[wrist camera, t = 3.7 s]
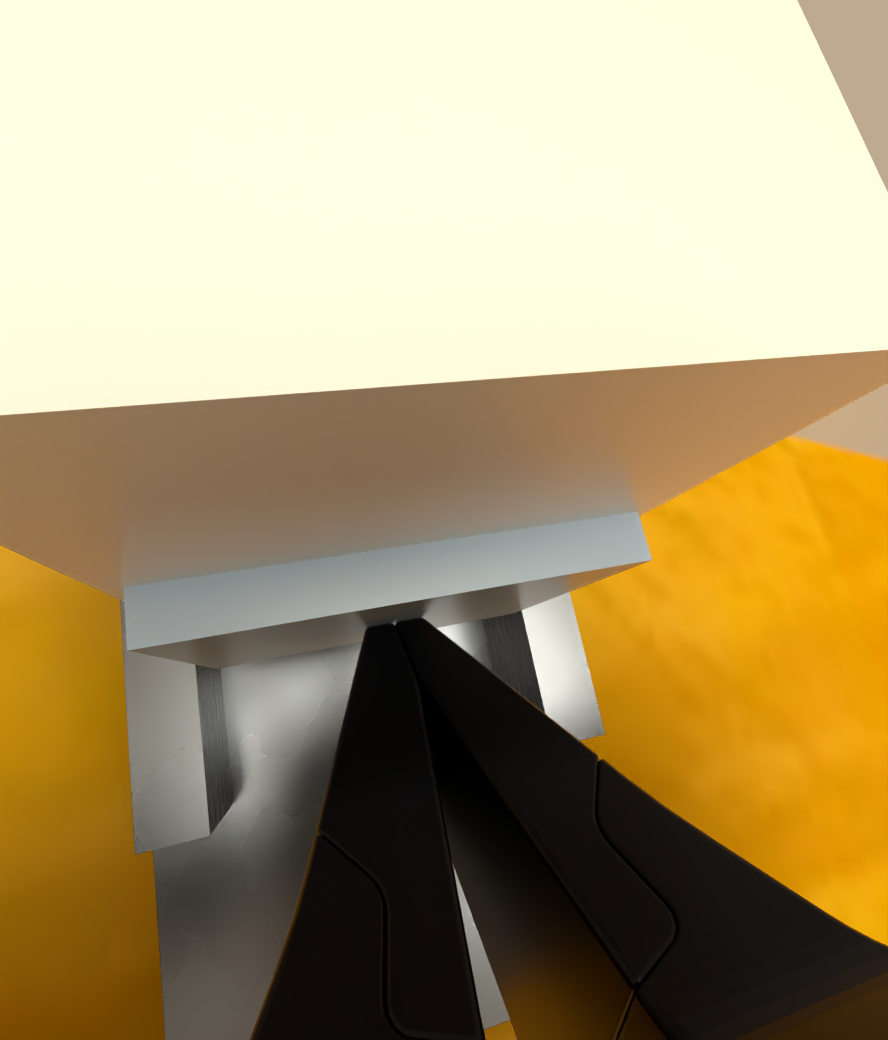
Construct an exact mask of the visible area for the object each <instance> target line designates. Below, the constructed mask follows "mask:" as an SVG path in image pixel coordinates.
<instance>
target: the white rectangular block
mask: <svg viewBox="0 0 888 1040" xmlns="http://www.w3.org/2000/svg"><path fill="white" fill-rule="evenodd" d="M886 383H888V193H887V190H886V188H885V186H884V184H883V182H882V180H881V178H880V175H879V173H878V171H877V169H876V167H875V165H874V163H873V160H872V158H871V156H870V154H869V152H868V150H867V148H866V146H865V144H864V141H863V140H862V137H861V135H860V133H859V131H858V129H857V126H856V124H855V122H854V120H853V118H852V116H851V114H850V112H849V110H848V107H847V105H846V103H845V101H844V99H843V97H842V95H841V93H840V90H839V88H838V86H837V84H836V82H835V80H834V78H833V76H832V73H831V71H830V69H829V67H828V65H827V63H826V61H825V59H824V56H823V54H822V52H821V50H820V48H819V46H818V44H817V41H816V39H815V37H814V35H813V33H812V31H811V29H810V27H809V25H808V22H807V20H806V18H805V16H804V14H803V12H802V10H801V7H800V5H799V3H798V1H797V0H0V545H1V546H3V547H5V548H7V549H10V550H12V551H14V552H16V553H18V554H20V555H23V556H25V557H27V558H29V559H31V560H34V561H36V562H38V563H40V564H42V565H45V566H47V567H49V568H51V569H53V570H56V571H58V572H60V573H62V574H64V575H67V576H69V577H71V578H73V579H75V580H78V581H80V582H82V583H84V584H86V585H89V586H91V587H93V588H95V589H97V590H100V591H102V592H104V593H106V594H108V595H111V596H113V597H115V598H117V599H119V600H122V601H124V607H125V624H126V640H127V651H131V652H136V653H141V654H145V655H150V656H155V657H160V658H165V659H170V660H175V661H180V662H185V663H190V664H195V665H200V666H204V667H209V668H214V669H219V668H225V667H230V666H235V665H241V664H246V663H251V662H257V661H262V660H268V659H273V658H278V657H284V656H289V655H294V654H300V653H305V652H310V651H316V650H321V649H326V648H332V647H337V646H342V645H348V644H353V643H358V642H362V641H363V637H364V633H365V630H366V628H368V627H371V626H377V625H382V624H388V623H392V624H394V625H396V623H397V622H399V621H404V620H410V619H415V618H424V619H425V620H427V621H428V622H429V623H431V624H432V625H433V626H434V627H436V628H438V627H444V626H449V625H454V624H460V623H465V622H470V621H476V620H481V619H486V618H492V617H497V616H502V615H508V614H513V613H516V612H519V611H521V610H524V609H526V608H529V607H532V606H534V605H537V604H539V603H542V602H544V601H547V600H550V599H552V598H555V597H557V596H560V595H563V594H565V593H568V592H570V591H573V590H575V589H578V588H581V587H583V586H586V585H588V584H591V583H594V582H596V581H599V580H601V579H604V578H606V577H609V576H612V575H614V574H617V573H619V572H622V571H625V570H627V569H630V568H632V567H635V566H638V565H640V564H643V563H645V562H648V561H650V560H652V559H651V555H650V552H649V548H648V545H647V541H646V538H645V535H644V531H643V528H642V524H641V521H640V517H639V516H641V515H643V514H645V513H646V512H648V511H650V510H652V509H654V508H656V507H658V506H659V505H661V504H663V503H665V502H667V501H669V500H671V499H672V498H674V497H676V496H678V495H680V494H682V493H684V492H685V491H687V490H689V489H691V488H693V487H695V486H697V485H698V484H700V483H702V482H704V481H706V480H708V479H710V478H711V477H713V476H715V475H717V474H719V473H721V472H723V471H725V470H726V469H728V468H730V467H732V466H734V465H736V464H738V463H739V462H741V461H743V460H745V459H747V458H749V457H751V456H752V455H754V454H756V453H758V452H760V451H762V450H764V449H765V448H767V447H769V446H771V445H773V444H775V443H777V442H778V441H780V440H782V439H784V438H786V437H788V436H790V435H792V434H793V433H795V432H797V431H799V430H801V429H802V428H805V427H806V426H808V425H810V424H812V423H814V422H816V421H817V420H819V419H821V418H823V417H825V416H827V415H829V414H831V413H832V412H834V411H836V410H838V409H839V408H842V407H844V406H845V405H847V404H849V403H851V402H853V401H855V400H857V399H858V398H860V397H862V396H864V395H866V394H868V393H870V392H871V391H873V390H875V389H877V388H879V387H881V386H883V385H884V384H886Z"/></svg>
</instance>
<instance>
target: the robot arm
mask: <svg viewBox="0 0 888 1040" xmlns="http://www.w3.org/2000/svg"><path fill="white" fill-rule="evenodd" d="M316 835H317V836H315V837H314V839H313V843H312V848H311V852H310V856H309V860H308V864H307V868H306V872H305V875H304V879H303V882H302V886H301V889H300V893H299V897H298V900H297V904H296V907H295V911H294V914H293V918H292V922H291V924H290V927H289V930H288V933H287V936H286V939H285V942H284V945H283V948H282V951H281V954H280V957H279V960H278V963H277V966H276V969H275V971H274V974H273V977H272V980H271V983H270V986H269V989H268V991H267V994H266V997H265V999H264V1002H263V1005H262V1007H261V1010H260V1013H259V1015H258V1018H257V1021H256V1023H255V1026H254V1029H253V1031H252V1034H251V1037H250V1039H249V1040H485V1035H484V1030H483V1024H482V1019H481V1013H480V1008H479V1003H478V997H477V992H476V987H475V981H474V976H473V970H472V965H471V960H470V954H469V949H468V944H467V938H466V933H465V928H464V922H463V917H462V911H461V906H460V901H459V895H458V890H457V885H456V879H455V874H454V869H453V865H454V868H455V871H456V873H457V876H458V879H459V882H460V884H461V887H462V890H463V893H464V895H465V898H466V901H467V903H468V906H469V909H470V912H471V914H472V917H473V920H474V923H475V925H476V928H477V931H478V933H479V936H480V939H481V942H482V944H483V947H484V950H485V952H486V955H487V958H488V961H489V963H490V966H491V969H492V972H493V974H494V977H495V980H496V982H497V985H498V988H499V991H500V993H501V996H502V999H503V1001H504V1004H505V1007H506V1010H507V1012H508V1015H509V1018H510V1021H511V1023H512V1026H513V1029H514V1031H515V1034H516V1037H517V1040H888V946H887V945H885V944H883V943H880V942H878V941H876V940H874V939H872V938H870V937H868V936H866V935H864V934H862V933H860V932H859V931H857V930H855V929H853V928H851V927H849V926H847V925H846V924H844V923H843V922H841V921H839V920H838V919H836V918H834V917H833V916H831V915H829V914H828V913H826V912H825V911H823V910H822V909H820V908H818V907H817V906H815V905H814V904H812V903H811V902H809V901H808V900H806V899H805V898H803V897H802V896H800V895H799V894H797V893H795V892H794V891H792V890H791V889H789V888H788V887H786V886H785V885H783V884H782V883H780V882H779V881H777V880H775V879H774V878H772V877H771V876H769V875H768V874H766V873H765V872H763V871H762V870H760V869H759V868H757V867H755V866H754V865H752V864H751V863H749V862H748V861H746V860H745V859H743V858H742V857H740V856H739V855H737V854H736V853H734V852H732V851H731V850H729V849H728V848H726V847H725V846H723V845H722V844H720V843H719V842H717V841H716V840H714V839H712V838H711V837H709V836H708V835H707V834H705V833H704V832H702V831H701V830H699V829H698V828H696V827H695V826H693V825H692V824H690V823H689V822H687V821H686V820H685V819H683V818H682V817H680V816H679V815H677V814H676V813H674V812H673V811H671V810H670V809H668V808H667V807H665V806H664V805H663V804H661V803H660V802H659V801H657V800H656V799H655V798H653V797H652V796H651V795H649V794H648V793H647V792H645V791H644V790H643V789H641V788H640V787H639V786H637V785H636V784H635V783H633V782H632V781H631V780H629V779H628V778H627V777H625V776H624V775H623V774H622V773H620V772H619V771H618V770H617V769H615V768H614V767H613V766H611V765H610V764H609V763H608V762H606V761H605V760H604V759H601V760H599V762H598V755H597V754H596V753H595V752H593V751H592V750H591V749H589V748H588V747H587V746H586V745H584V744H583V743H582V742H581V741H579V740H578V739H577V738H575V737H574V736H573V735H572V734H570V733H569V732H568V731H567V730H565V729H564V728H563V727H561V726H560V725H559V724H558V723H556V722H555V721H554V720H553V719H551V718H550V717H549V716H548V715H546V714H545V713H544V712H542V711H541V710H540V709H539V708H537V707H536V706H535V705H534V704H532V703H531V702H530V701H528V700H527V699H526V698H525V697H523V696H522V695H521V694H520V693H518V692H517V691H516V690H514V689H513V688H512V687H511V686H509V685H508V684H507V683H506V682H504V681H503V680H502V679H501V678H499V677H498V676H497V675H495V674H494V673H493V672H492V671H490V670H489V669H488V668H487V667H485V666H484V665H483V664H481V663H480V662H479V661H478V660H476V659H475V658H474V657H473V656H471V655H470V654H469V653H467V652H466V651H465V650H464V649H462V648H461V647H460V646H459V645H457V644H456V643H455V642H454V641H452V640H451V639H450V638H448V637H447V636H446V635H445V634H443V633H442V632H441V631H440V630H438V629H437V628H436V627H434V626H433V625H432V624H431V623H429V622H428V621H427V620H425V619H424V618H415V619H410V620H404V621H399V622H397V623H396V625H394V624H392V623H388V624H382V625H377V626H371V627H368V628H366V630H365V633H364V637H363V641H362V645H361V649H360V653H359V657H358V661H357V665H356V669H355V674H354V678H353V682H352V686H351V690H350V694H349V698H348V702H347V706H346V710H345V714H344V718H343V723H342V727H341V731H340V735H339V739H338V743H337V747H336V751H335V755H334V759H333V763H332V768H331V772H330V776H329V780H328V784H327V788H326V792H325V796H324V800H323V804H322V808H321V812H320V817H319V821H318V825H317V829H316Z"/></svg>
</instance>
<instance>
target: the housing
mask: <svg viewBox="0 0 888 1040" xmlns="http://www.w3.org/2000/svg"><path fill="white" fill-rule="evenodd" d="M120 606H121V623H122V640H123V658H124V675H125V692H126V709H127V726H128V743H129V760H130V777H131V794H132V811H133V828H134V846H135V855H136V854H140V853H143V852H147V851H151V850H153V857H154V872H155V887H156V903H157V918H158V933H159V948H160V964H161V979H162V994H163V1009H164V1025H165V1040H249V1039H250V1037H251V1034H252V1031H253V1029H254V1026H255V1023H256V1021H257V1018H258V1015H259V1013H260V1010H261V1007H262V1005H263V1002H264V999H265V997H266V994H267V991H268V989H269V986H270V983H271V980H272V977H273V974H274V971H275V969H276V966H277V963H278V960H279V957H280V954H281V951H282V948H283V945H284V942H285V939H286V936H287V933H288V930H289V927H290V924H291V922H292V918H293V914H294V911H295V907H296V904H297V900H298V897H299V893H300V889H301V886H302V882H303V879H304V875H305V872H306V868H307V864H308V860H309V856H310V852H311V848H312V843H313V839H314V837H315V836H317V835H316V829H317V825H318V821H319V817H320V812H321V808H322V804H323V800H324V796H325V792H326V788H327V784H328V780H329V776H330V772H331V768H332V763H333V759H334V755H335V751H336V747H337V743H338V739H339V735H340V731H341V727H342V723H343V718H344V714H345V710H346V706H347V702H348V698H349V694H350V690H351V686H352V682H353V678H354V674H355V669H356V665H357V661H358V657H359V653H360V649H361V645H362V642H358V643H353V644H348V645H342V646H337V647H332V648H326V649H321V650H316V651H310V652H305V653H300V654H294V655H289V656H284V657H278V658H273V659H268V660H262V661H257V662H251V663H246V664H241V665H235V666H230V667H225V668H219V669H214V668H209V667H204V666H200V665H195V664H190V663H185V662H180V661H175V660H170V659H165V658H160V657H155V656H150V655H145V654H141V653H136V652H131V651H127V640H126V624H125V607H124V601H122V600H120ZM437 629H438V630H440V631H441V632H442V633H443V634H445V635H446V636H447V637H448V638H450V639H451V640H452V641H454V642H455V643H456V644H457V645H459V646H460V647H461V648H462V649H464V650H465V651H466V652H467V653H469V654H470V655H471V656H473V657H474V658H475V659H476V660H478V661H479V662H480V663H481V664H483V665H484V666H485V667H487V668H488V669H489V670H490V671H492V672H493V673H494V674H495V675H497V676H498V677H499V678H501V679H502V680H503V681H504V682H506V683H507V684H508V685H509V686H511V687H512V688H513V689H514V690H516V691H517V692H518V693H520V694H521V695H522V696H523V697H525V698H526V699H527V700H528V701H530V702H531V703H532V704H534V705H535V706H536V707H537V708H539V709H540V710H541V711H542V712H544V713H545V714H546V715H548V716H549V717H550V718H551V719H553V720H554V721H555V722H556V723H558V724H559V725H560V726H561V727H563V728H564V729H565V730H567V731H568V732H569V733H570V734H572V735H573V736H574V737H575V738H577V739H578V740H579V741H580V740H584V739H588V738H592V737H596V736H599V735H603V734H605V731H604V727H603V723H602V719H601V715H600V711H599V707H598V703H597V699H596V695H595V692H594V688H593V684H592V680H591V676H590V672H589V668H588V664H587V660H586V656H585V652H584V648H583V644H582V640H581V636H580V632H579V628H578V624H577V620H576V616H575V612H574V608H573V604H572V600H571V596H570V592H568V593H565V594H563V595H560V596H557V597H555V598H552V599H550V600H547V601H544V602H542V603H539V604H537V605H534V606H532V607H529V608H526V609H524V610H521V611H519V612H516V613H513V614H508V615H502V616H497V617H492V618H486V619H481V620H476V621H470V622H465V623H460V624H454V625H449V626H444V627H438V628H437ZM453 869H454V874H455V879H456V885H457V890H458V895H459V901H460V906H461V911H462V917H463V922H464V928H465V933H466V938H467V944H468V949H469V954H470V960H471V965H472V970H473V976H474V981H475V987H476V992H477V997H478V1003H479V1008H480V1013H481V1019H482V1024H483V1030H485V1029H487V1028H490V1027H493V1026H495V1025H498V1024H501V1023H503V1022H506V1021H508V1020H510V1018H509V1015H508V1012H507V1010H506V1007H505V1004H504V1001H503V999H502V996H501V993H500V991H499V988H498V985H497V982H496V980H495V977H494V974H493V972H492V969H491V966H490V963H489V961H488V958H487V955H486V952H485V950H484V947H483V944H482V942H481V939H480V936H479V933H478V931H477V928H476V925H475V923H474V920H473V917H472V914H471V912H470V909H469V906H468V903H467V901H466V898H465V895H464V893H463V890H462V887H461V884H460V882H459V879H458V876H457V873H456V871H455V868H454V865H453Z"/></svg>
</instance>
